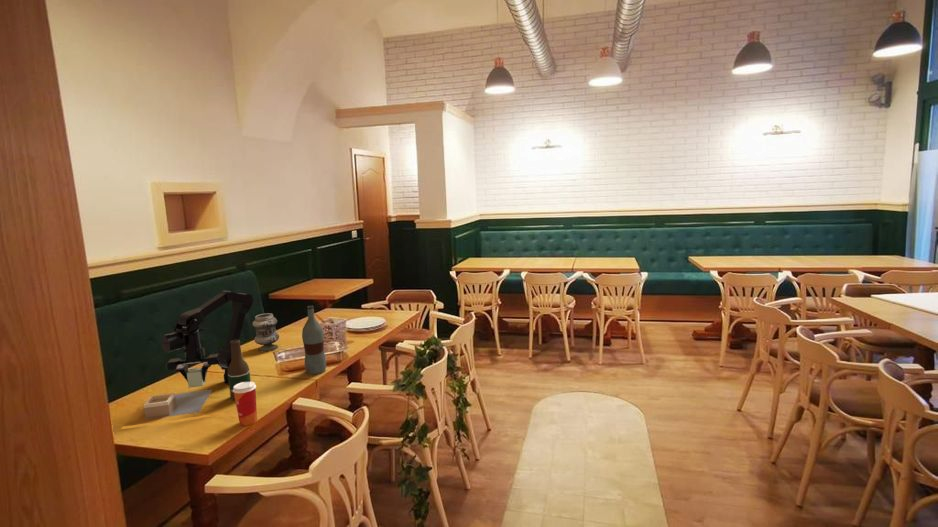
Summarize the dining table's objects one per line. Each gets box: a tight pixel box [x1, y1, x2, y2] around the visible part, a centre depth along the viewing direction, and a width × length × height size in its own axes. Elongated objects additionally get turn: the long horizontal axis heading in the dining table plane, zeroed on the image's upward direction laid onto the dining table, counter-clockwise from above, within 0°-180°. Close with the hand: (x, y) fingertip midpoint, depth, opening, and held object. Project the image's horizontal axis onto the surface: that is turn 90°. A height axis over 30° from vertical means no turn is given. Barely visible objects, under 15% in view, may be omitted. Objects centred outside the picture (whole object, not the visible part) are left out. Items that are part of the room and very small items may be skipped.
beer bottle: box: [228, 339, 252, 401], centre depth 197 cm, size 8×8×24 cm
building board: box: [143, 389, 214, 421], centre depth 194 cm, size 18×22×6 cm
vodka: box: [301, 305, 327, 375], centre depth 223 cm, size 9×9×30 cm
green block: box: [186, 367, 206, 389], centre depth 200 cm, size 5×5×6 cm
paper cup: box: [233, 381, 258, 427], centre depth 177 cm, size 8×8×14 cm
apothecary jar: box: [252, 312, 280, 353], centre depth 259 cm, size 12×12×18 cm
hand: (196, 382), depth 200 cm, fingers closed on green block, 5 cm apart
